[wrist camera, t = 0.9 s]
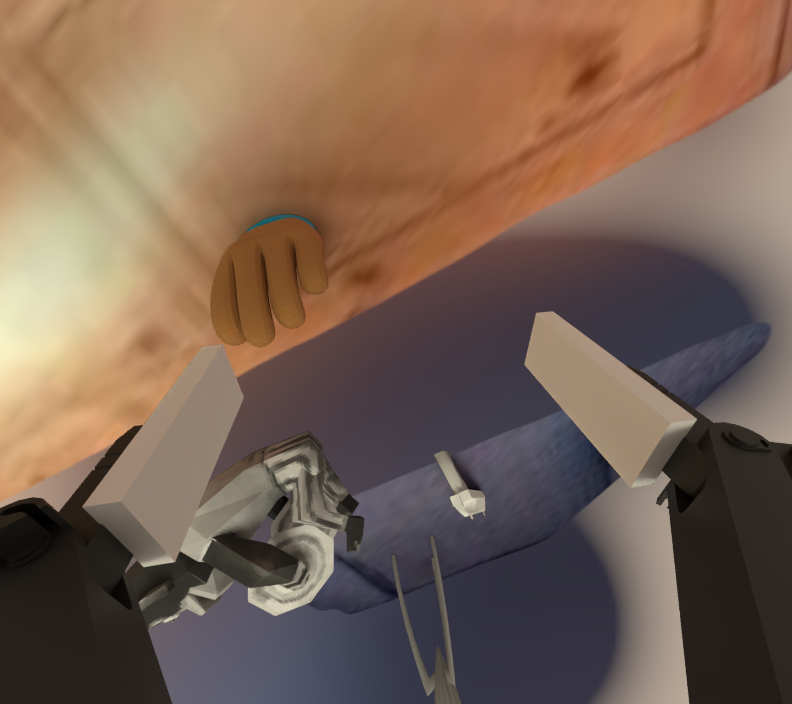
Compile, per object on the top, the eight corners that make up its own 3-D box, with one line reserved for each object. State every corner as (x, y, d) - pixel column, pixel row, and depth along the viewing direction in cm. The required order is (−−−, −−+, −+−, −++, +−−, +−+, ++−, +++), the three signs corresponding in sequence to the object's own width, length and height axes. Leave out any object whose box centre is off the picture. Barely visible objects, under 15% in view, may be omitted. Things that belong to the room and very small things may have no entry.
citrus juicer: (434, 558, 75) (478, 759, 50) (393, 566, 75) (418, 774, 50) (433, 535, 69) (482, 749, 44) (389, 543, 69) (414, 766, 44)
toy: (366, 506, 59) (209, 613, 51) (286, 363, 54) (99, 458, 46) (401, 591, 39) (149, 790, 31) (277, 374, 34) (-58, 546, 26)
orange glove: (241, 298, 35) (183, 376, 23) (204, 238, 32) (111, 292, 19) (341, 266, 35) (338, 328, 22) (316, 201, 31) (296, 231, 19)
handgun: (427, 454, 52) (451, 527, 46) (449, 446, 51) (476, 519, 45) (457, 464, 68) (477, 518, 62) (473, 458, 67) (495, 512, 62)
